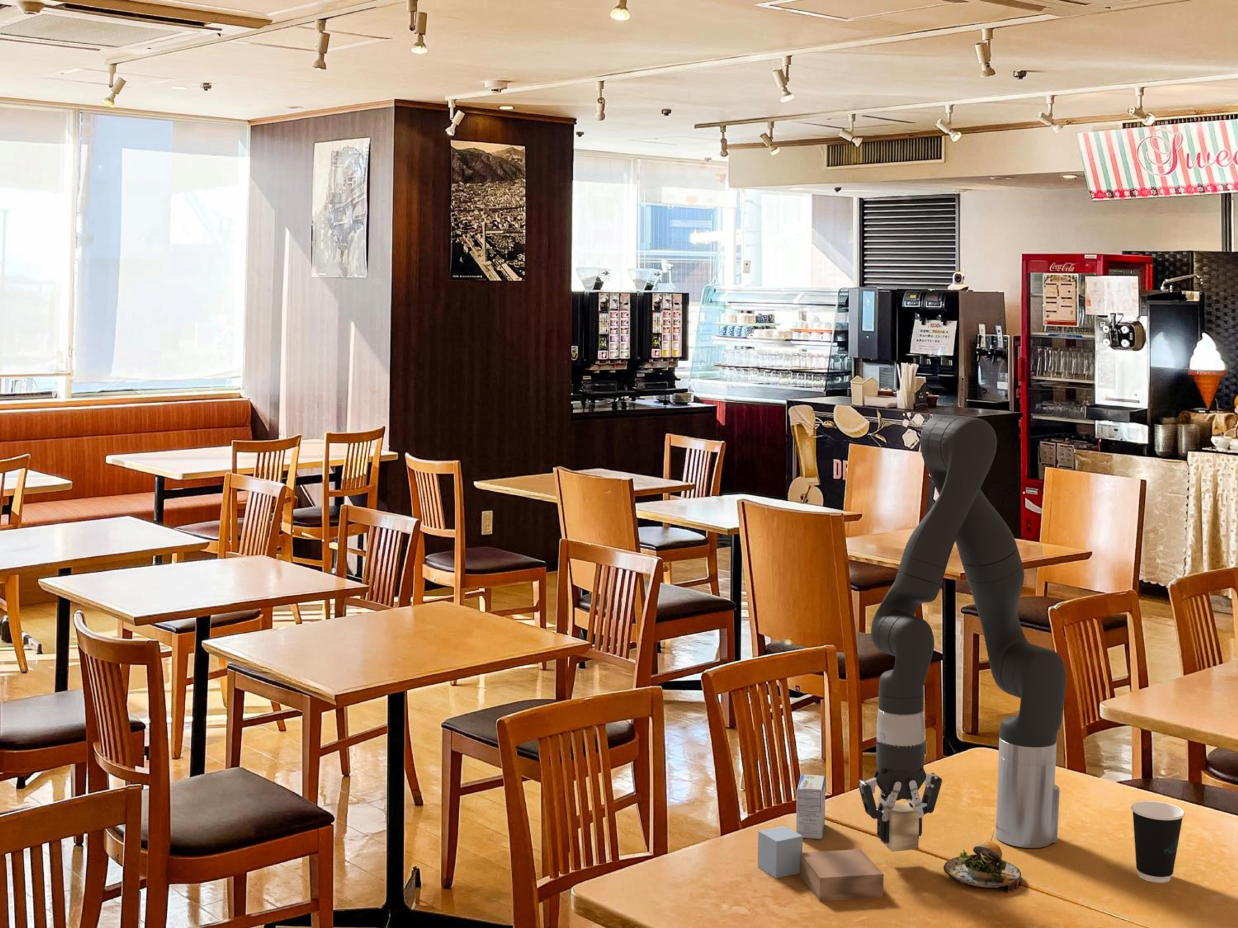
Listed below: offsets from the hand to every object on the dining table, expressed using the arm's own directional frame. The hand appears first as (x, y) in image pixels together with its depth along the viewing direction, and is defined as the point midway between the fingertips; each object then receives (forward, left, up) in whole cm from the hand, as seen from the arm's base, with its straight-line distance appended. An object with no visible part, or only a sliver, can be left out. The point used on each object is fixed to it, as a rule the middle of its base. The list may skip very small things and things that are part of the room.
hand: (899, 839), depth 224 cm
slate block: (+19, -2, -4) cm, 20 cm away
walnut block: (+12, +6, -4) cm, 15 cm away
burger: (-11, +8, -5) cm, 14 cm away
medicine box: (+8, -17, -4) cm, 19 cm away
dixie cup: (-38, +13, -4) cm, 40 cm away
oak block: (0, 0, -1) cm, 1 cm away
